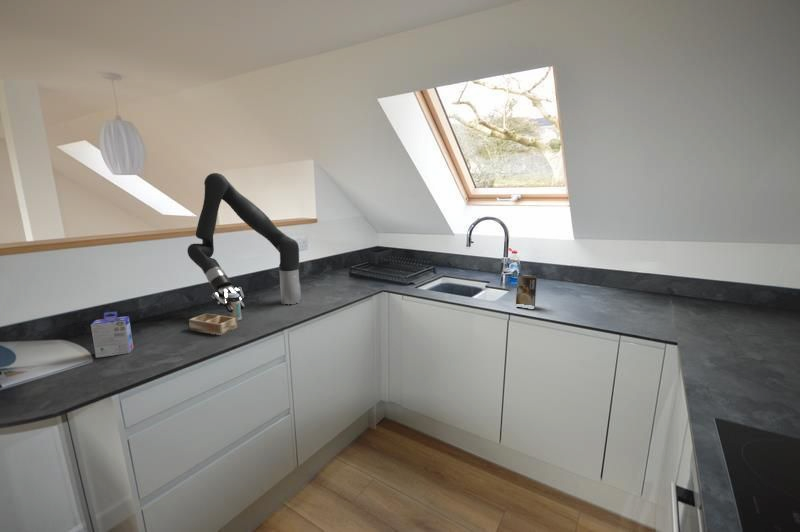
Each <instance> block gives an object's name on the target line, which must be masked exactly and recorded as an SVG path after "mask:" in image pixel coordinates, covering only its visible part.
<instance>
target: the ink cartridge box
mask: <svg viewBox="0 0 800 532" xmlns="http://www.w3.org/2000/svg"><path fill="white" fill-rule="evenodd" d="M108 315H110V316H108ZM90 328H91V335H92V340H93V347H94V353H95V358H104V357H111V356H116V355H117V356H118V355H126V354H130V353H131V352H132V351H133V349H134V342H133V335H132V329H131V322H130V317H129V315H128V316H126V315H125V316H118V311H117V310H116V311H109V312H108V311H106V312H103V318H102V319H95V320H94V321H93V322H92V323H91V324H90Z"/></svg>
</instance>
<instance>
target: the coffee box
mask: <svg viewBox="0 0 800 532" xmlns="http://www.w3.org/2000/svg"><path fill="white" fill-rule="evenodd" d="M516 277H517V278H516V280H517V281H516V293H515V305H516V304H524V305H532V306H535V307H536V296H537V295H536V294H537V282H538V281H537V280H538V279H537V275H535V274H534V275H532V274H520V273H519V274H517V276H516Z"/></svg>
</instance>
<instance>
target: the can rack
mask: <svg viewBox="0 0 800 532" xmlns="http://www.w3.org/2000/svg"><path fill="white" fill-rule="evenodd" d="M188 322H189V323H188V325H189V330H190V331H194V332H199V333H204V334H209V333H210V335H215V334H216V335H217V336H220V335H221V336H223V335H222V334H224V335H226V334H228V333H230V332H232V331H234V330H233V329H235V330H237V329H238V321H237V318H234V317H229V315H228V316H227V315H221V314H213V313H208V312H206V313H203V314H200V315H198V316H197V315H196V316H195V317H192V318H190V319H188ZM236 328H237V329H236ZM231 330H232V331H231ZM229 331H230V332H229ZM227 332H228V333H227ZM225 333H226V334H225Z"/></svg>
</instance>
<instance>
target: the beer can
mask: <svg viewBox="0 0 800 532" xmlns="http://www.w3.org/2000/svg"><path fill="white" fill-rule="evenodd" d="M228 303H230V305H231V307H232V308H233V312H231V313H230V312H228V317H234V318H237V322H239V321H241V320H242V319H243V318H242V309H241V305H240V295H239V294H238V293H230V294H229V295H228Z"/></svg>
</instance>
